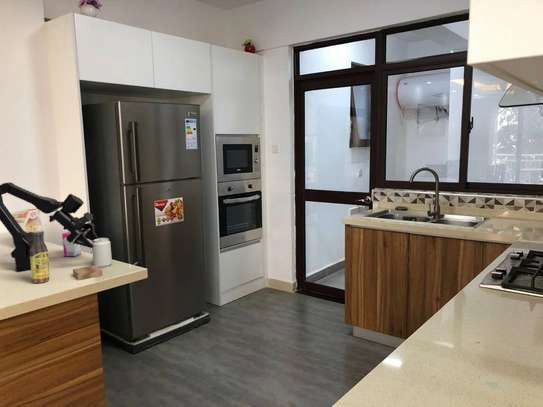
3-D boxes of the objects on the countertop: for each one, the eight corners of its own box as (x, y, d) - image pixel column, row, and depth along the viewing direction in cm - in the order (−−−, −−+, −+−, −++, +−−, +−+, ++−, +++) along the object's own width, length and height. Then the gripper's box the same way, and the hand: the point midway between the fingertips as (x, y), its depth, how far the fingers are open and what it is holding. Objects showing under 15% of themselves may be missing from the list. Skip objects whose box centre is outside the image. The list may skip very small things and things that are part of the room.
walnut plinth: (78, 280, 165) (78, 274, 164) (73, 275, 172) (72, 269, 172) (102, 275, 170) (101, 269, 170) (96, 270, 177) (95, 265, 177)
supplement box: (81, 254, 208) (79, 231, 206) (75, 257, 202) (73, 233, 201) (70, 254, 209) (68, 231, 207) (63, 257, 203) (61, 233, 201)
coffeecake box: (28, 248, 223) (24, 212, 221) (15, 248, 224) (11, 212, 221) (43, 242, 238) (40, 208, 236) (31, 242, 238) (27, 208, 236)
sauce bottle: (37, 285, 160) (32, 233, 158) (28, 282, 163) (23, 232, 161) (54, 280, 166) (49, 230, 163) (45, 278, 169) (40, 229, 166)
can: (94, 269, 180) (92, 241, 179) (93, 265, 187) (90, 238, 185) (113, 266, 183) (111, 239, 182) (111, 262, 190) (109, 236, 189)
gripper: (71, 210, 172) (101, 235, 174) (87, 204, 190) (114, 227, 193) (53, 230, 172) (83, 255, 175) (71, 222, 191) (98, 245, 193)
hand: (96, 244), depth 184 cm, fingers open, 9 cm apart
